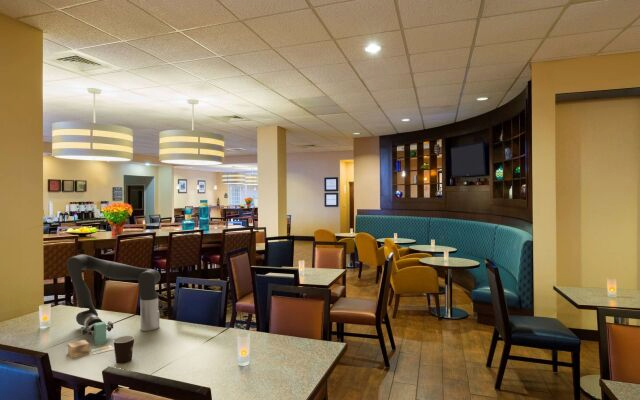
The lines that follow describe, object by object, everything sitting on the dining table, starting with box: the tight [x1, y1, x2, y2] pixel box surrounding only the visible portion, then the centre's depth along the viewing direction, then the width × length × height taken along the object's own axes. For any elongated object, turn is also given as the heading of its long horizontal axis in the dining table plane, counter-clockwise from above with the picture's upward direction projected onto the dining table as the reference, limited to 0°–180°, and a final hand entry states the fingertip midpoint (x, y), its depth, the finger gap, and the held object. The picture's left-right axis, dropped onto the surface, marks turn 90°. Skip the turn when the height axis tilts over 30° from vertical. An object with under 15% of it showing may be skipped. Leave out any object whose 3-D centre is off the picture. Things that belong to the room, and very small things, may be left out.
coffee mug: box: [112, 335, 135, 365], centre depth 175 cm, size 12×9×10 cm
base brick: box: [67, 339, 90, 359], centre depth 182 cm, size 7×7×5 cm
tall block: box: [93, 321, 107, 346], centre depth 195 cm, size 4×4×10 cm
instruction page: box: [89, 344, 115, 355], centre depth 186 cm, size 9×7×1 cm
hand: (100, 331), depth 195 cm, fingers open, 8 cm apart
